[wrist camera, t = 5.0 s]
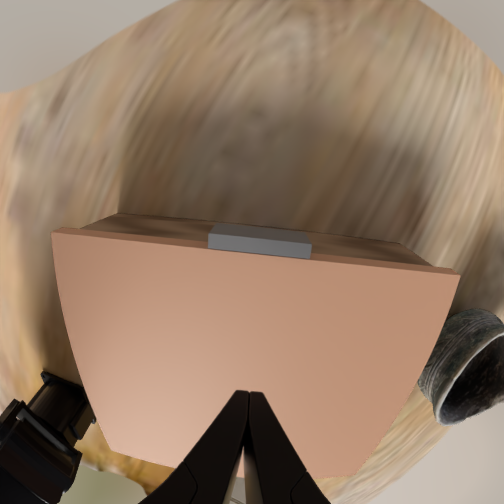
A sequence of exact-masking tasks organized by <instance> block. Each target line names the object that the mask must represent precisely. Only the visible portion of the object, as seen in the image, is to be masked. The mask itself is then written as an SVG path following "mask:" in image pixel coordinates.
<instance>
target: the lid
mask: <svg viewBox="0 0 504 504" xmlns="http://www.w3.org/2000/svg"><path fill="white" fill-rule="evenodd" d="M51 239H52V249H53V258H54V266H55V273H56V279H57V285H58V291H59V297H60V302H61V307H62V311H63V316H64V320H65V325H66V329H67V333H68V337H69V340H70V344H71V348H72V351H73V355H74V358H75V361H76V365H77V368H78V371H79V374H80V377H81V380H82V383H83V385H84V388H85V391H86V394H87V396H88V399H89V402H90V404H91V407H92V409H93V412H94V414H95V416H96V419H97V421H98V423H99V426H100V428H101V430H102V432H103V434H104V436H105V439H106V441H107V443H108V445H109V447H110V449H111V450H112V451H115V452H118V453H121V454H124V455H128V456H131V457H134V458H138V459H141V460H145V461H148V462H152V463H156V464H160V465H165V466H169V467H174V468H177V466H178V465H179V464H180V463H181V462H182V461H183V459H184V458H185V457H186V455H187V454H188V453H189V452H190V450H191V449H192V448H193V447H194V445H195V444H196V443H197V441H198V440H199V439H200V438H201V436H202V435H203V434H204V432H205V431H206V430H207V428H208V427H209V426H210V425H211V423H212V422H213V421H214V419H215V418H216V416H217V415H218V414H219V412H220V411H221V410H222V408H223V407H224V406H225V404H226V403H227V401H228V400H229V399H230V397H231V396H232V395H233V393H234V392H235V391H236V390H247V391H249V393H250V391H258V392H263V393H264V395H265V397H266V399H267V401H268V402H269V404H270V406H271V408H272V410H273V412H274V413H275V415H276V417H277V419H278V421H279V422H280V424H281V426H282V428H283V429H284V431H285V433H286V435H287V436H288V438H289V440H290V442H291V443H292V445H293V447H294V449H295V450H296V452H297V454H298V455H299V457H300V459H301V460H302V462H303V464H304V465H305V467H306V469H307V471H308V472H309V473H310V475H311V477H312V478H313V479H317V478H331V477H342V476H350V475H355V474H356V473H357V472H358V470H359V469H360V468H361V467H362V465H363V464H364V463H365V462H366V460H367V459H368V458H369V456H370V455H371V454H372V452H373V451H374V450H375V448H376V447H377V445H378V444H379V443H380V441H381V440H382V438H383V437H384V435H385V434H386V433H387V431H388V430H389V428H390V427H391V425H392V423H393V422H394V420H395V419H396V417H397V416H398V414H399V412H400V411H401V409H402V407H403V406H404V404H405V402H406V401H407V399H408V397H409V395H410V394H411V392H412V390H413V388H414V386H415V385H416V383H417V381H418V379H419V377H420V375H421V373H422V371H423V369H424V367H425V365H426V363H427V361H428V359H429V357H430V355H431V353H432V351H433V348H434V346H435V344H436V342H437V339H438V337H439V335H440V332H441V330H442V327H443V325H444V322H445V320H446V317H447V315H448V312H449V309H450V307H451V304H452V301H453V298H454V295H455V292H456V289H457V286H458V283H459V280H460V277H461V275H459V274H458V273H456V272H455V271H453V270H452V269H450V268H441V267H432V266H424V265H415V264H406V263H398V262H389V261H380V260H371V259H362V258H353V257H344V256H335V255H326V254H317V253H311V248H312V243H311V242H310V240H309V238H308V237H307V235H306V233H305V232H299V231H290V230H281V229H272V228H263V227H253V226H244V225H234V224H224V223H216V224H215V226H214V227H213V228H212V230H211V231H210V232H209V237H208V242H204V241H194V240H184V239H175V238H165V237H155V236H145V235H135V234H125V233H115V232H104V231H94V230H84V229H74V228H63V227H62V228H60V229H57V230H55V231H52V232H51ZM307 471H306V472H307ZM237 477H241V478H244V463H243V452H242V457H241V461H240V465H239V469H238V473H237Z"/></svg>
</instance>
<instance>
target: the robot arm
mask: <svg viewBox="0 0 504 504" xmlns="http://www.w3.org/2000/svg"><path fill="white" fill-rule="evenodd" d="M41 377H42V379H43V382H44V385H43V386H42V387H41V388H40V389H39V391H38V392H37V393H36V394H35V396H34V397H33V398H32V399H31V401H30V402H29V403H28V405H26V403H25V402H24V401H23V400H22V401H21V402H19V401H18V400H16V399H13V401H12V402H11V403H10V404H9V405H8V407H7V408H6V409H5V410H4V412H3V413H2V414H1V416H0V504H57V503H59V502H60V499H61V496H62V494H63V493H65V492H67V491H68V490H69V488H70V487H71V486H72V484H73V482H74V480H75V477H76V473H77V470H78V467H79V464H80V460H81V457H82V453H81V452H80V451H77V450H76V449H75V448H74V446H75V444H76V442H77V440H81V439H82V438H83V436H84V434H85V433H86V431H87V429H88V427H89V426H90V424H91V423H93V424H95V422H96V418H95V416H94V414H93V411H92V409H91V406H90V404H89V401H88V399H87V396H86V394H85V391H84V389H83V388H82V387H81V386H79V385H76V384H73V383H71V382H68V381H66V380H63V379H61V378H58V377H56V376H53V375H51V374H49V373H46V372H44V371H42V373H41ZM16 416H17V417H18V418H19V419H20V420H19V419H17V418H16ZM242 452H243V463H244V480H245V496H246V504H331V503H330V502H329V501H328V499H327V498H326V497H325V496H324V494H323V493H322V492H321V490H320V489H319V487H318V486H317V485H316V483H315V482H314V480H313V478H312V477H311V475H310V473H309V472H308V471H307V469H306V467H305V465H304V464H303V462H302V460H301V459H300V457H299V455H298V454H297V452H296V450H295V449H294V447H293V445H292V443H291V442H290V440H289V438H288V436H287V435H286V433H285V431H284V429H283V428H282V426H281V424H280V422H279V421H278V419H277V417H276V415H275V413H274V412H273V410H272V408H271V406H270V404H269V402H268V401H267V399H266V397H265V395H264V393H263V392H258V391H250V393H249V391H247V390H236V391H235V392H234V393H233V395H232V396H231V397H230V399H229V400H228V401H227V403H226V404H225V406H224V407H223V408H222V410H221V411H220V412H219V414H218V415H217V416H216V418H215V419H214V421H213V422H212V423H211V425H210V426H209V427H208V428H207V430H206V431H205V432H204V434H203V435H202V436H201V438H200V439H199V440H198V441H197V443H196V444H195V445H194V447H193V448H192V449H191V450H190V452H189V453H188V454H187V455H186V457H185V458H184V459H183V461H182V462H181V463H180V464H179V465H178V466H177V468H176V469H175V470H174V471H173V472H172V473H171V474H170V476H169V477H168V478H167V479H166V480H165V481H164V482H163V483H162V484H161V485H160V486H158V487H157V488H156V489H155V490H154V491H153V492H152V493H151V494H149V495H148V496H147V497H146V498H144V499H143V500H142V501H141V502H140V503H138V504H229V503H230V499H231V495H232V492H233V488H234V484H235V480H236V477H237V473H238V469H239V465H240V461H241V457H242ZM306 471H307V472H306Z"/></svg>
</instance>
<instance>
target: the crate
mask: <svg viewBox="0 0 504 504" xmlns="http://www.w3.org/2000/svg"><path fill="white" fill-rule="evenodd" d="M216 223H224V222H214V221H203V220H193V219H181V218H170V217H158V216H145V215H132V214H118V213H117V214H114V215H112V216H109V217H107V218H104V219H102V220H99V221H97V222H95V223H92V224H90V225H87V226H85V227H83V228H80V229H84V230H94V231H104V232H115V233H125V234H135V235H145V236H155V237H165V238H175V239H184V240H194V241H204V242H208V237H209V232H210V231H211V230H212V228H213V227H214V226H215V224H216ZM224 224H234V223H224ZM234 225H244V224H234ZM244 226H253V227H263V226H254V225H244ZM263 228H272V227H263ZM272 229H281V230H290V229H282V228H272ZM290 231H299V230H290ZM299 232H305V233H306V235H307V237H308V238H309V240H310V242H311V243H312V248H311V253H317V254H326V255H335V256H344V257H353V258H362V259H371V260H380V261H389V262H398V263H406V264H415V265H424V266H432V265H431V264H429V263H428V262H426V261H425V260H423V259H422V258H421V257H419V256H418V255H416V254H415V253H413V252H412V251H410V250H409V249H407V248H406V247H404V246H403V245H401V244H399V243H392V242H385V241H378V240H371V239H363V238H356V237H348V236H340V235H332V234H324V233H316V232H308V231H299ZM432 267H434V266H432Z"/></svg>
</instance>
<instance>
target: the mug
mask: <svg viewBox="0 0 504 504" xmlns="http://www.w3.org/2000/svg"><path fill="white" fill-rule="evenodd" d="M418 385H419V387H420V389H421V391H422V393H423V394H424V395H425V397H426V398H427V399H428V400H429V401H431V402H432V404H433V411H434V415H435V419H436V421H437V423H440V425H442V426H451V425H455V424H457V423H460V422H462V421H464V420H465V419H466V418H471V417H473V416H476V415H479V414H481V413H483V412H485V411H487V410H489V409H490V408H492V407H494V406H495V405H497V404H500V403H503V402H504V324H503V322H502V321H501V320H500V319H499V318H498V317H497V316H496V315H494V314H492V313H490V312H488V311H486V310H482V309H470V310H466V311H463V312H460V313H458V314H455V315H453V316H452V317H450V318H449V319H448V320H447V321H445V322H444V325H443V327H442V330H441V332H440V335H439V337H438V339H437V342H436V344H435V346H434V348H433V351H432V353H431V355H430V357H429V359H428V361H427V363H426V365H425V367H424V369H423V371H422V373H421V375H420V377H419V379H418Z"/></svg>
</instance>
